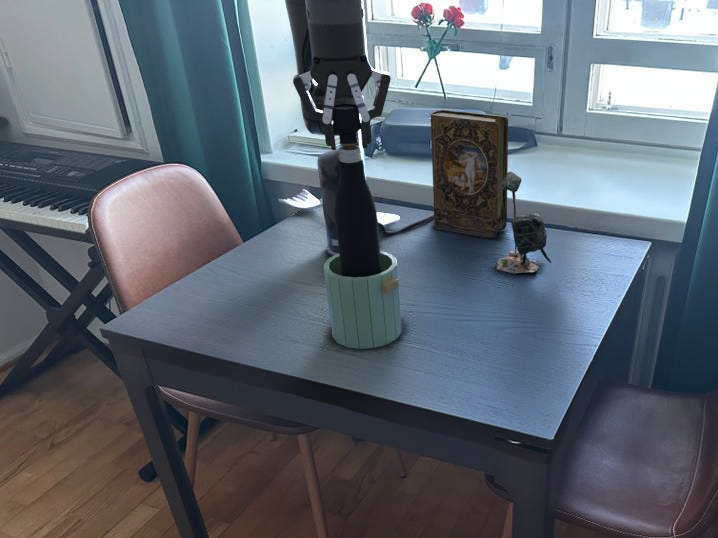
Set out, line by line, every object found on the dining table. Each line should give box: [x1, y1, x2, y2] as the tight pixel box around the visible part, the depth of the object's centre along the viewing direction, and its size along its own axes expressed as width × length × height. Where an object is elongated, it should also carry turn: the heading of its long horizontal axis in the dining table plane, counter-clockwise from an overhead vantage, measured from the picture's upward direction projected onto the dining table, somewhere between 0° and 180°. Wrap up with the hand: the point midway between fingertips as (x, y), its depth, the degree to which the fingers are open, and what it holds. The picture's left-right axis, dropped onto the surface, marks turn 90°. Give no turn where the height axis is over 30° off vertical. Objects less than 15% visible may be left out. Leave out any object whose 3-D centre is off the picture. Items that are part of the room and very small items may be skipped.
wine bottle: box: [332, 104, 382, 277], centre depth 107 cm, size 6×6×30 cm
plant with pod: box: [493, 171, 552, 275], centre depth 135 cm, size 8×11×20 cm
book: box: [429, 109, 509, 239], centre depth 152 cm, size 16×6×25 cm, turn 65°
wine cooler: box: [323, 250, 402, 350], centre depth 116 cm, size 12×14×12 cm
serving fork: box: [277, 188, 400, 229], centre depth 164 cm, size 9×32×3 cm, turn 59°
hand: (348, 147), depth 102 cm, fingers closed on wine bottle, 4 cm apart
